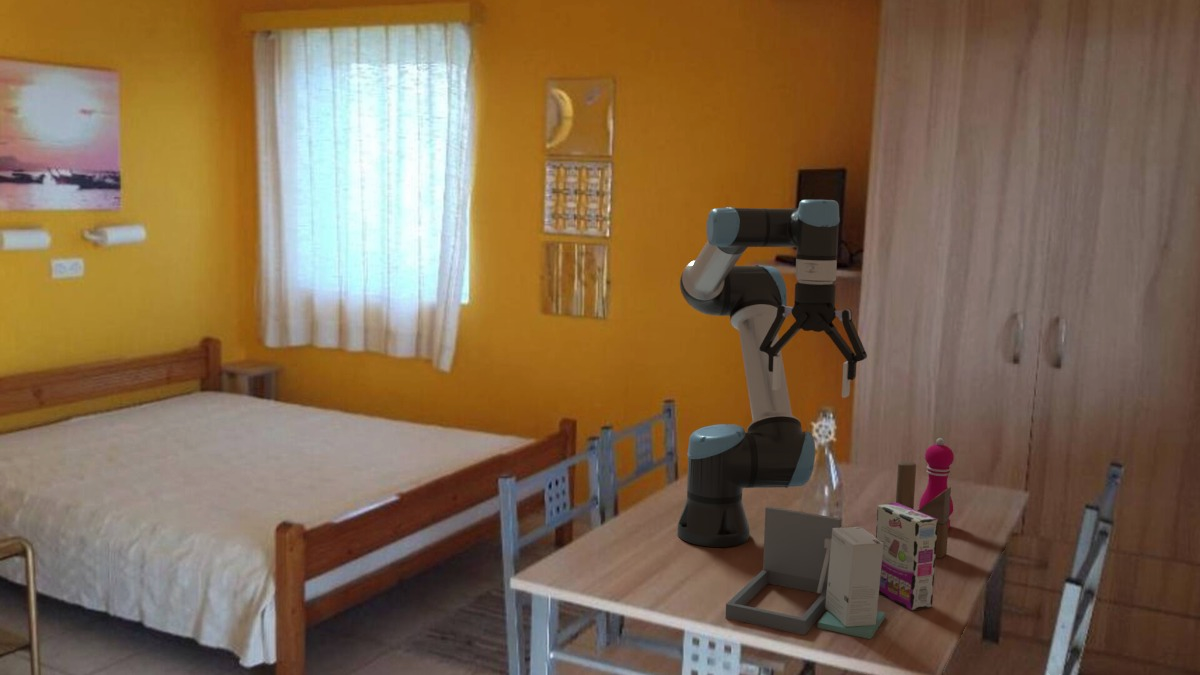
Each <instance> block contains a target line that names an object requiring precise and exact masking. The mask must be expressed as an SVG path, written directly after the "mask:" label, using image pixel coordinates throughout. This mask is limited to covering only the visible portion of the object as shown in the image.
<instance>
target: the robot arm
mask: <svg viewBox="0 0 1200 675" xmlns="http://www.w3.org/2000/svg"><path fill="white" fill-rule="evenodd" d="M840 221H841V218H840V205H839V203H838V201H837V200H833V199H801V201H799V204H798V207H792V208H791V207H790V208H768V207H767V208H760V207H759V208H758V207H757V208H756V207H755V208H754V207H750V208H749V207H731V206H726V207H717V208H713V209H711V210H710V211H709V213H708V215H707V220H706V238H707V241H706V243H705V244H704V246H703V247H702V249H701V251H700V252H699V254H698V256H697V257H696V259H695V260H692V261H690V262H689V263H688V264H687V265H686V266H685V268H684V269H683V271H682V273H681V275H680V280H679V288H680V293H681V294H682V297H683V299H684V300H685V301H686V302H687V304H688V305H689V306H691V307H692V308H693V309H694V310H696V311H697V312H700V313H701V314H704V315H709V316H713V317H714V316H719V317H721V316H722V317H725V316H726V317H727V316H728V317H729V319H730V324H731V327H733V328H734V329H736V330H737V331H738V334H739V339H740V346H741V353H742V360H743V365H744V366H743V367H744V373H745V378H746V379H745V381H746V386H747V391H748V392H747V393H748V398H749V399H748V400H749V406H750V411H751V417H752V418H751V419H752V421H751V423H750V424H749V425H748V426H747V428H746V431H745V428H744V427H743V426H742V425H739V424H733V423H732V424H727V423H726V424H725V423H724V424H723V423H722V424H721V423H720V424H713V425H712V424H711V425H708V426H707V425H706V426H703V427H701V428H698V429H696V430H694V431H692V433H691V434H690V436H689V437H688V438H689V439H688V449H687V454H686V455H687V483H686V489H687V490H686V500H685V503H684V506H683V509H682V511H681V515H680V518H679V520H678V522H677V536H678V537H679V538H680V539H681V540H682V541H684V542H687V543H689V544H692V545H696V546H700V547H701V546H702V547H710V548H711V547H713V548H726V547H727V548H728V547H729V548H730V547H735V546H738V545H743V544H744V543H747V541H749V538H750V525H749V521H748V518H747V514H746V511H745V507H744V504H743V489H749V488H750V489H755V488H757V489H760V488H761V489H765V488H766V489H767V488H785V489H788V488H793V487H802V486H805V485H807V483H808V482H809V481H810V479H811V477H812V474H813V470H814V467H815V459H816V443H815V441H816V440H815V439H814V435H813V433H812V432H810V431H807V430H804V431H803V428H802V423H801V420H800V419H799V418H798V417H796V416H795V415H793V413H792V407H791V406H792V405H791V401H790V395H789V388H788V385H787V377H786V372H785V367H784V360H783V354H782V349H783V348H784V347H785V346H786V345H787V344H788V343H789V341H790V340H791V339H792V338H793V337H794V336H795V335H796V334H797V333H799V331H800V330H803V331H804V332H809V331H813V332H816V333H821V332H824V333H825V334H826V335H827V336H828V337H829V338H830V339H831V341H832V342H833V343H834V345H835V346H836V348H837V349H838V350H839V351H840V353H841V354H842V355H843V357H844V358H845V359H846V361H844V362H843V365H842V366H843V367H842V381H841V382H842V386H841V398H842V399H843V398H844V399H845V398H848V397H850V393H851V392H850V391H851V381H853V380H855V378H856V376H857V363H858V362H861V361H864V360H866V359H867V357H868V355H867V352H866V350H865V347H864V345H863V343H862V341H861V339H860V336H859V334H858V331H857V329H856V326H855V324H854V321H853V313H852V310H851V309H850V308H847V309H844V310H843V309H842V310H837V309H836V305H835V303H836V289H837V288H836V284H835V283H833V282H835V281H836V280H837V268H838V267H837V263H838V261H837V260H838V248H839V247H838V243H839V227H840ZM754 247H755V248H766V247H767V248H796V259H795V279H796V280H797V281H798V282H796V283H795V284H794V304H793V306H788V297H787V294H788V291H787V290H788V289H787V286H786V281H785V278H784V277H783V275H782V273H781V271H779V269H778V268H776V267H774V266H771V265H769V266H768V265H762V264H756V265H736V264H737V262H738V261H739V260H740V258H741V257H742V255H744V253H745V252H746V250H747V249H748V248H754ZM790 314H791V315H792V317H793V318H794V320H795V321H794V322H793V323H792V325H790V327H789V328H788V329H787V330H786V331H785V333H783V335H782V336H781V337H780V338H779V331H780V330H781V327H782V326H783V324H784V323H785V321H786V318H788V317H789V316H790ZM836 317H837V318H838V320H839V321H840V322H842V325H843V328H844V330H845V333H846V335H847V337H848V340H849V342H850V344H851V346H852V348H851V347H850V346H849V344H848V342H846V340H845V339H844V338H843V336H842V335H841V334H840V332H839V331H838V328H837V327H836V326H835V324H834V323H833V321H834V320H835V319H836ZM852 349H853V350H852Z"/></svg>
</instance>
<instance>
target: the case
mask: <svg viewBox="0 0 1200 675" xmlns="http://www.w3.org/2000/svg"><path fill="white" fill-rule="evenodd" d="M764 515H765V516H764V534H763V535H764V536H763V537H764V539H763V540H764V541H763V561H762V563H763V564H762V565H763V566H762V570H761V571H760V572H759V573H758V574H756V576H755V577H753V578H752V579H751V580H750V581H749V582H748V583H747V584H746V585H745V586H744V587H743V588H742V589H741V590H740V591H738V592H737V593H736V594H735V595H734V596H733V597H732V598H731V599H730V600H728V602H726V603H725V619H728V620H732V621H736V622H737V621H738V622H743V623H747V624H752V625H756V626H760V625H761V627H766V628H769V627H770V628H771V629H774V628H775V629H774V630H778V629H779V631H784V632H788V633H794V634H798V635H802V636H805V635H807V633H808V632H809V631H810V629H811V628H812V627H813V626H814V624H815V623H816V622H818V620H819V619H820V617H822V616H823V615H822V614H823V613H824V612H826V611H827V609H825V603H826V593H827V583H828V571H829V561H830V551H831V540H832V528H842V518H840V517H834V516H827V515H823V514H822V515H820V514H816V513H809V512H806V511H805V512H803V511H797V510H793V509H786V508H779V507H773V506H766V507H765V512H764ZM768 584H769V585H775V586H780V587H785V588H789V589H794V590H799V591H806V592H811V593H815V594H819V597H817V599H816V600H815V601H814V602H813V604H811V605H810V607H809V608H808V609H807V611H805V612H804V614H803V615H802V616H796V615H791V614H787V613H786V614H785V613H780V612H776V611H771V610H767V609H762V608H758V607H752V606H750V605H749V606H747V604H748V603H749V602H750V601H751V600H752V599H753V598H755V596H756V595H757V594H758V593H759V592H761V590H763V589H764V587H766V585H768Z"/></svg>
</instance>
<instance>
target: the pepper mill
mask: <svg viewBox="0 0 1200 675" xmlns="http://www.w3.org/2000/svg"><path fill="white" fill-rule="evenodd" d="M924 459H925V461H926V463H927V464H928V465H927V466H926V473H927V474H928V475H927V476H928V482H927V485H926V489H925V490H924V491H923V493H922V495H921V497H920V500H919V504H918V510H919V509H920V508H922V507H923V506H925V505H926V504H927V503H929V502H930V501H931V500H933V499H934V498H935V497H937V496H938V495H939V494H941V493H942V492H943V491H945V490H946V489H948V488H949V487H948V477H949V476H950V475H951V467H950V466H951V465H952V464H954V460H955V456H954V452H953V449H951V448H950V447H949V446H947V445H945V439H943V438H942V437H938V438H937V439H936V441H935V444H932V445H931V446H929V447H928V448H927V449H926V450H925V454H924ZM953 513H954V502H953V500H952V497H951V495H950V509H949V517H950V516H951V515H952V514H953ZM948 522H949V523H948V530H949V529H950V528H951V519H950V518H949V520H948Z"/></svg>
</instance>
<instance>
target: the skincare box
mask: <svg viewBox="0 0 1200 675" xmlns="http://www.w3.org/2000/svg"><path fill="white" fill-rule="evenodd" d="M883 546H884V544H883V543H882V542H880V541H879V540H878V539H876V536H875V535H873V533H871V532H868V531H867V530H865V528H863V527H861V526H852V527H841V528H832V540H831V551H830V561H829V571H828V583H827V593H826V603H825V609H826V611H827V610H828V611H829V612H830V613H832V614H833V615H834V616H835V617H836V618H837V619H838V620H839V621H841V623H842V624H843V625H844V626H846V627H853V626H867V625H876V617H877V611H878V605H879V594H880V593H879V586H880V576H881V566H882V556H883Z"/></svg>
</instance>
